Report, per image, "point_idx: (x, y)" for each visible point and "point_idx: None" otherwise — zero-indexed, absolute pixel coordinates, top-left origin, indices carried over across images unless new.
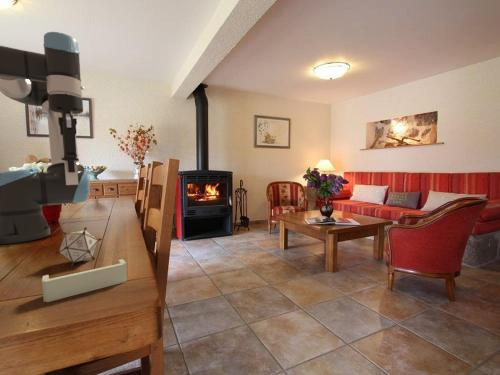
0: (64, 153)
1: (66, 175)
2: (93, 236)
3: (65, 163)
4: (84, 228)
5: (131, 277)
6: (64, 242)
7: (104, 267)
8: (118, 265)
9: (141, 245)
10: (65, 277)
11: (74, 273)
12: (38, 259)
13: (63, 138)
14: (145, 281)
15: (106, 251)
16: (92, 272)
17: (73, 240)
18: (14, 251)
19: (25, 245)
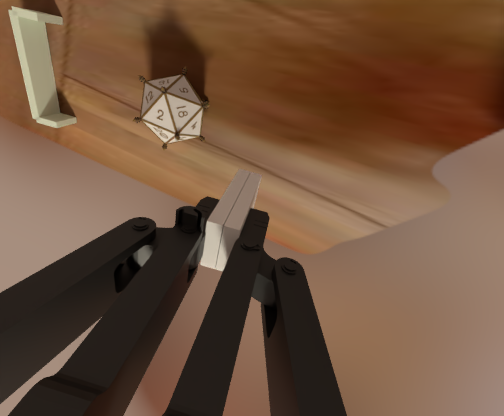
0: (227, 263)
1: (229, 187)
2: (167, 139)
3: (212, 215)
4: (178, 135)
5: (66, 126)
6: (161, 84)
7: (32, 94)
8: (31, 110)
9: None
10: (15, 38)
11: (25, 53)
12: (275, 51)
13: (124, 346)
14: (44, 130)
15: (218, 160)
16: (25, 75)
17: (145, 97)
18: (427, 18)
19: (477, 55)
